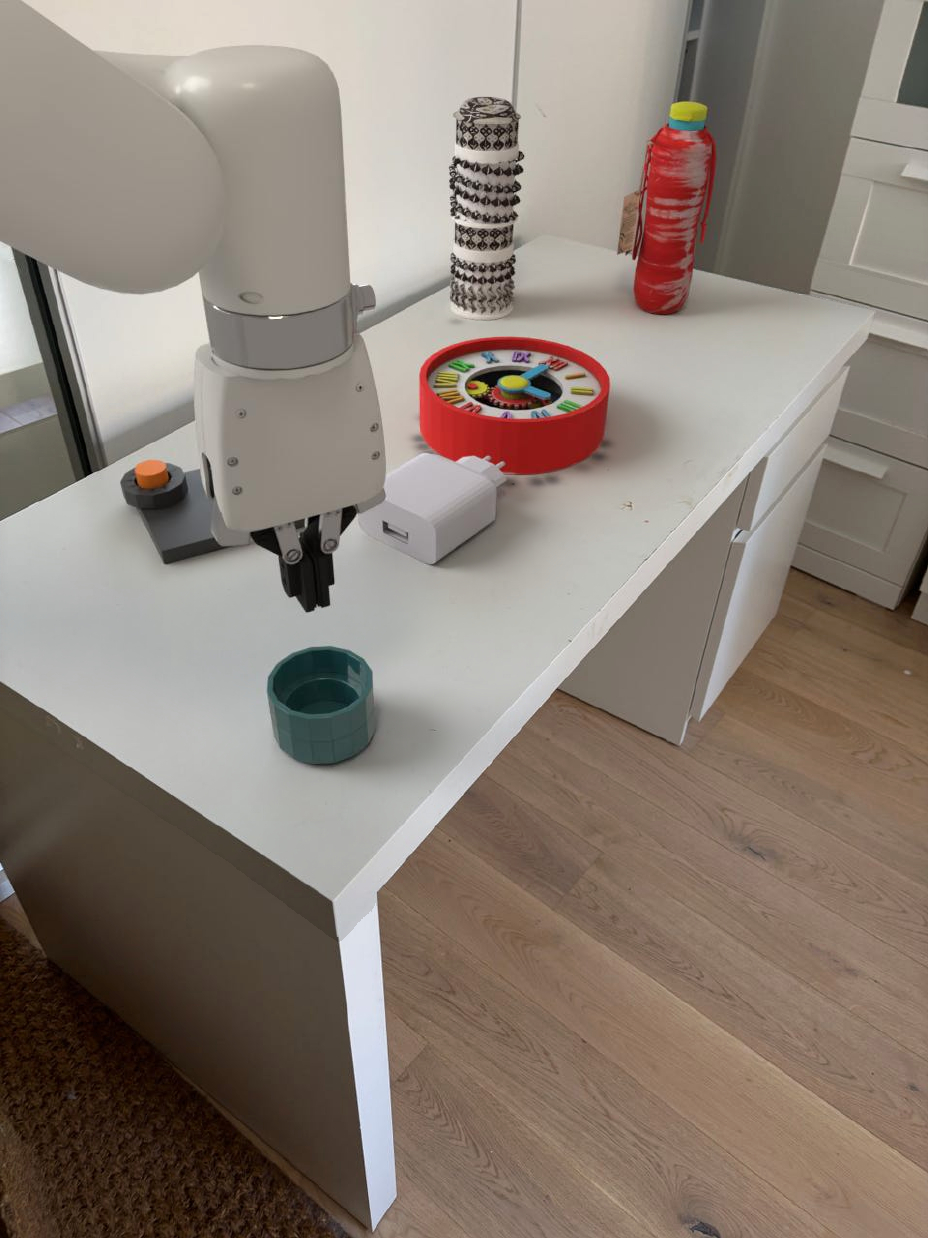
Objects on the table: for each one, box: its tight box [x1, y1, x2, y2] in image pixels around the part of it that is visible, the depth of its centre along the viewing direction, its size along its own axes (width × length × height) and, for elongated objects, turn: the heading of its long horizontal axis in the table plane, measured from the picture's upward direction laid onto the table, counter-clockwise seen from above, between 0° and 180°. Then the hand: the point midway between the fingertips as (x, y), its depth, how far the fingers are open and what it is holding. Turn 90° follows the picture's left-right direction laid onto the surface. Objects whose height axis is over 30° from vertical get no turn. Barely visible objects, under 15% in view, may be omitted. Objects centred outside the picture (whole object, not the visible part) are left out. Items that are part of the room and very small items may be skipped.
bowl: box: [266, 645, 376, 765], centre depth 68 cm, size 7×7×5 cm
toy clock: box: [418, 336, 611, 476], centre depth 103 cm, size 20×6×20 cm
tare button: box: [134, 459, 169, 488], centre depth 89 cm, size 3×3×2 cm
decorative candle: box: [448, 96, 525, 321], centre depth 122 cm, size 9×9×25 cm
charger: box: [357, 452, 507, 565], centre depth 90 cm, size 5×9×15 cm
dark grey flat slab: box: [119, 462, 305, 565], centre depth 90 cm, size 15×12×3 cm
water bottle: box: [616, 101, 717, 315], centre depth 124 cm, size 12×8×25 cm, turn 62°
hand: (309, 597), depth 62 cm, fingers closed
